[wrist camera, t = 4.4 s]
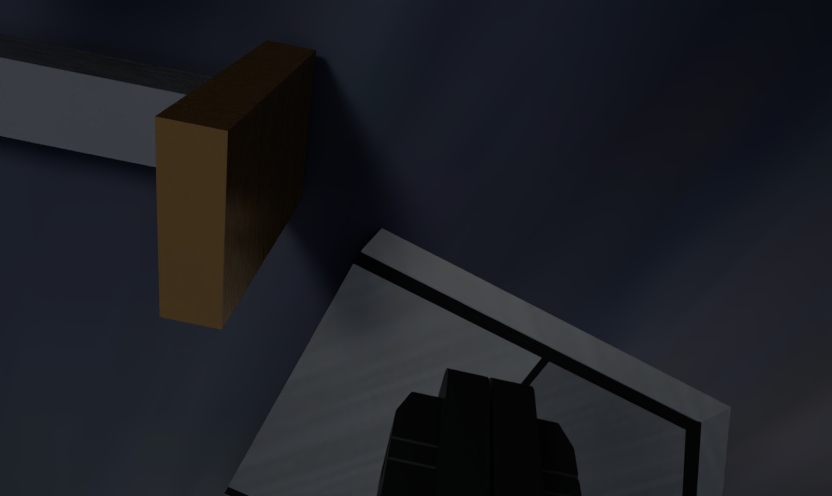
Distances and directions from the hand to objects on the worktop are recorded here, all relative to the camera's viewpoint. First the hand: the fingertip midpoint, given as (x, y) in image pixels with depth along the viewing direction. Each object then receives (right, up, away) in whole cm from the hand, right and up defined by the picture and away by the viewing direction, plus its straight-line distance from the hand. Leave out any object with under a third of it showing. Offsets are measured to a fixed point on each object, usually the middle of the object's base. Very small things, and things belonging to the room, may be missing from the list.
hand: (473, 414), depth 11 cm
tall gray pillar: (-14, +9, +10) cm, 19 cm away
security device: (+4, -7, +17) cm, 19 cm away
